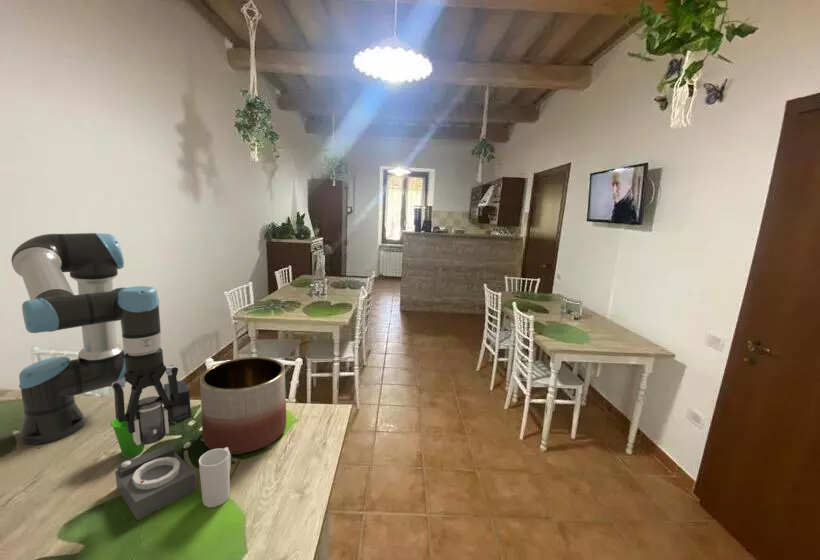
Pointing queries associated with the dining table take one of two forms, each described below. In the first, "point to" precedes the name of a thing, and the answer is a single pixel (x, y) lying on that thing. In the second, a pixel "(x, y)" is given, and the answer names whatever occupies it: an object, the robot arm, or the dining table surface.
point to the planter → (243, 404)
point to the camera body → (154, 480)
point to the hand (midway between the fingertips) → (151, 436)
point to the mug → (215, 476)
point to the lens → (150, 420)
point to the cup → (126, 439)
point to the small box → (180, 402)
